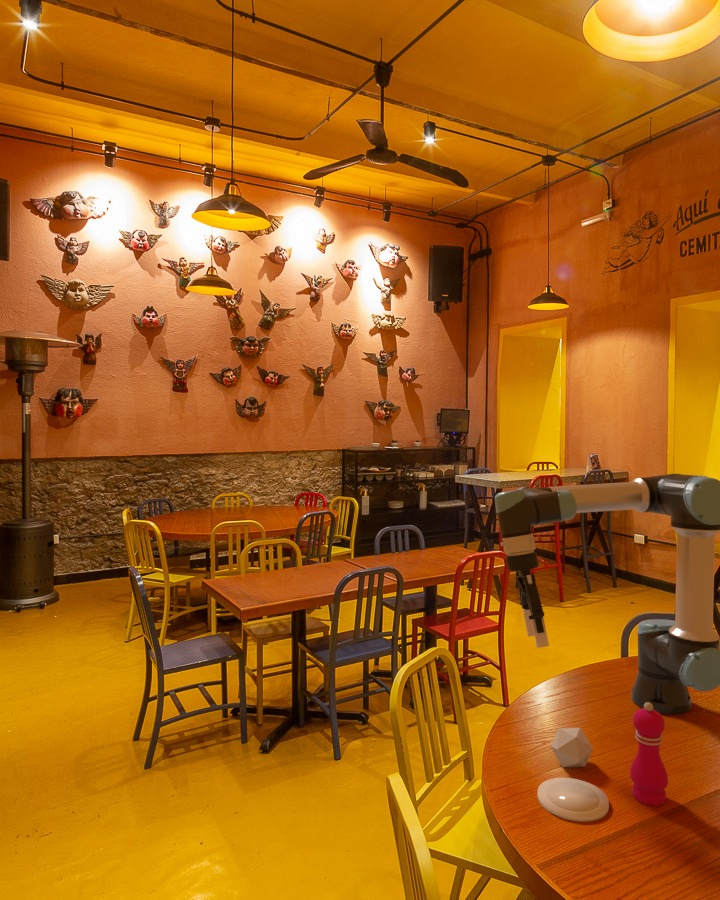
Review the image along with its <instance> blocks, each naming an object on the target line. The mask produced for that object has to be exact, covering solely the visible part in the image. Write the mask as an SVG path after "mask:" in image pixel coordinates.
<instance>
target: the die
mask: <svg viewBox="0 0 720 900" xmlns="http://www.w3.org/2000/svg"><path fill="white" fill-rule="evenodd" d="M550 748H551V750H552V752H553V753H554V754H555V757H556V758H557V760H558V762H559V764H560V765H561V767H562V768H586V766H587V764H588V762H589V759H590V757H591V754H592V752H593V750H594V747H593V746H592V744H591V743H590V741H589V739H588V738H587V736H586V735H585V734H584V731H583V730H582V729H581V727H561V728H560V727H559V728H557V731H556V733H555V736H554V737H553V740H552V743H551V744H550Z"/></svg>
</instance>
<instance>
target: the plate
mask: <svg viewBox="0 0 720 900" xmlns="http://www.w3.org/2000/svg"><path fill="white" fill-rule="evenodd" d="M537 787H538V788H537V800H538V802H539V804H540V805H541V806H542V808H544V809H545V811H546V812H548V813H550V814H552V815H554V816H556V817H557V818H560V819H563V820H566V821H571V822H578V823H580V822H581V823H586V822H587V823H588V822H595V821H599V820H601V819H603V818H604V817H606V815H608V812H609V809H610V801H609V798H608V796H607V794H605V792H604V791H603V790H602V789H600V788H599V787H598V786H596V785H594V784H593V783H592V784H591V783H590V782H587V781H585V780H581V779H578V778H571V777H555V778H550V779H547V780H545V781H542V782H541V784H539V785H538V786H537Z"/></svg>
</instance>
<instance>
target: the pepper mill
mask: <svg viewBox="0 0 720 900" xmlns="http://www.w3.org/2000/svg"><path fill="white" fill-rule="evenodd" d="M632 723H633V726H634V728H635V729H636V730H635V739H636V740H637V743H638V748H637V749H638V750H637V753H636V756H635V758H634V760H633V762H632V763H631V766H630V770H629V771H630V773H629V777H630V779H631V782H632V783H633V784H632V796H633V797H634V799H635V800H637V801H638V802H640V803H642V804H644V805H647V806H655V807H657V806H659V807H660V806H662V805H664V804H665V803H666V800H667V799H666V797H667V795H666V793H667V792H666V790H665V789H666V788H667V787H668V785H669V775H668V773H667V770H666V766H665V765H664V762H663V760H662V757H661V754H660V746H661V744H662V743H663V740H662V739H663V735H662V733H663V732H664V731H665V726H666V724H665V719H664V717H663V716H662V715H661V713H658V712H657V711H655V710H653V705H652V704H651V703H649V702H647V703H645V704H644V708H642V707H641V708H640V709H637V710H636V711H635V712H634V714H633V716H632Z"/></svg>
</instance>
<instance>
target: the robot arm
mask: <svg viewBox="0 0 720 900" xmlns="http://www.w3.org/2000/svg"><path fill="white" fill-rule="evenodd" d="M494 504H495V514H496V516H497V521H498V525H499V529H500V534H501V538H502V539H501V540H502V541H501V542H500V543H499V544H500V546H501V547H503V550H504V554H506V557H505V561H506V566H507V570H508V571H509V572H515V576H516V583H517V587H518V593H519V604H520V606H521V608H522V613H523V618H524V619H523V620H524V623H525V628H526V632H527V637H534V639H535V644H536V648H545V647H550V644H549V639H548V638H549V637H548V634H547V628H546V623H545V618H544V617H545V611H544V609H543V605H542V601H541V598H540V593H539V590H538V586H537V582H536V577H535V576H536V575H535V574H534V573H533V574H532V572H531V570H532V569H537V568H538V567H539V565H540V563H539V559H538V558H539V557H538V553H537V552H536V551H534V550H536V548H537V547H536V542H535V538H534V533H533V529H532V527H533V526H540V525H546V524H552V523H558V522H561V523H562V522H564V521H569V520H572V519H574V518H575V516H576V515H577V514H579V513H580V514H581V513H593V512H594V513H595V512H598V513H599V512H612V511H626V510H627V511H628V510H629V511H630V510H634V511H635V512H636V513H653V514H654V513H656V514H660V515H666V516H670V528H672V529H673V531H675V533H676V534H677V536H676V537H677V538H676V575H675V577H676V578H675V582H676V583H675V619H674V620H672V619H665V618H664V619H662V618H661V619H660V618H657V619H644V620H642V621H640V622H639V623H638V626H637V632H636V635H637V673H636V677H635V681H634V685H633V686H632V689H631V701H632V702H633V703H634V704H635V705H636V706H638V707H640V708H641V709H642V708H644V704H645V703H647V702H649V703H651V704H652V705H653V710H655V711H657V712H658V713H659V714H666V715H681V714H685V713H688V712H690V710H691V709H692V697H691V695H690V693H689V689H688V688H692V689H693V690H696V691H699V692H709V691H713V690H715V689H717V688H719V687H720V635H719V634H718V632H716V631H715V629H714V599H715V598H714V597H715V596H714V595H715V592H714V589H715V554H716V552H715V550H716V549H715V548H716V536H717V535H718V534H719V533H720V480H719V479H717V478H714V477H708V476H706V475H694V474H682V473H667V474H661V475H654V476H646V477H645V476H644V477H636V478H634V479H632V480H631V481H629V482H627V481H626V482H624V481H623V482H611V483H595V484H594V483H592V484H591V483H590V484H577V485H576V484H575V485H574V484H573V485H559V486H557V485H556V486H547V487H546V486H545V487H544V486H543V487H531V486H522V487H519V488H517V489H513V490H509V491H507V490H506V491H503V492H502V491H501V492H498V493H496V494H495V496H494Z"/></svg>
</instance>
